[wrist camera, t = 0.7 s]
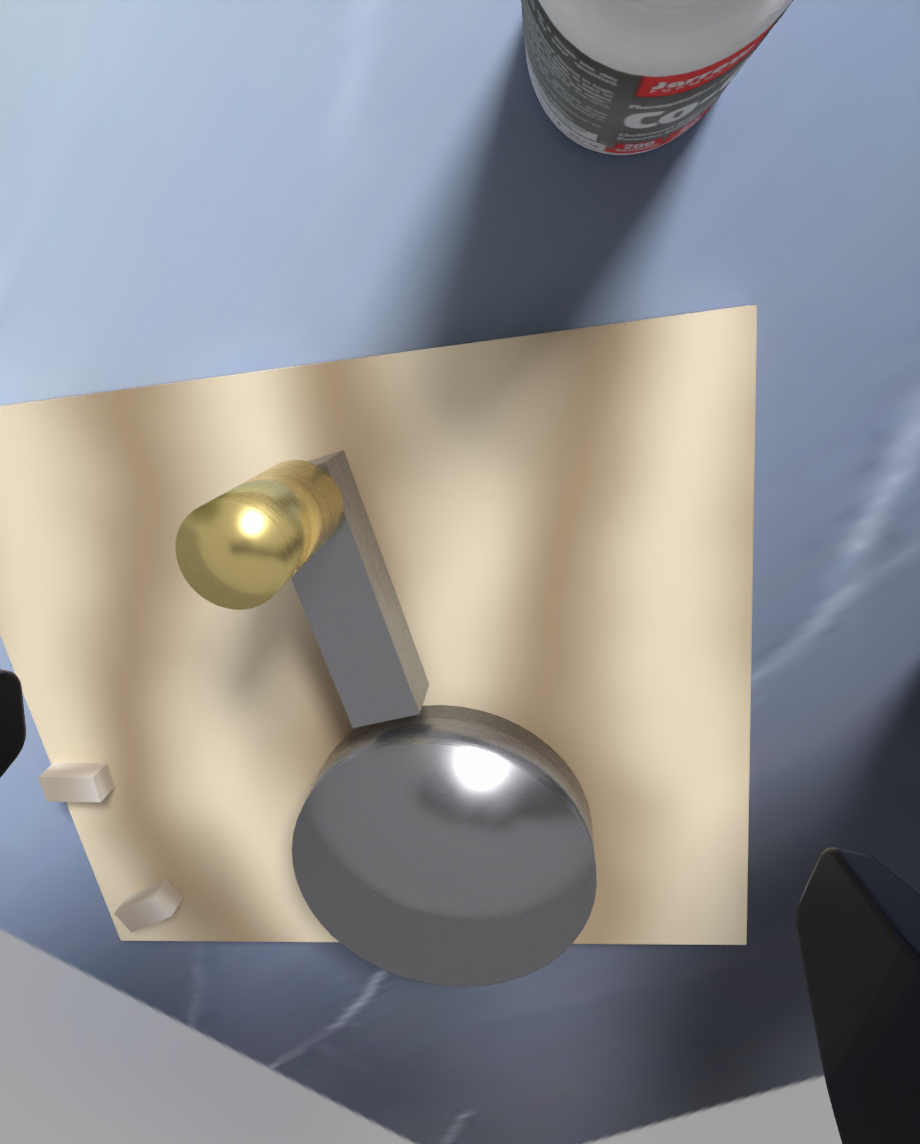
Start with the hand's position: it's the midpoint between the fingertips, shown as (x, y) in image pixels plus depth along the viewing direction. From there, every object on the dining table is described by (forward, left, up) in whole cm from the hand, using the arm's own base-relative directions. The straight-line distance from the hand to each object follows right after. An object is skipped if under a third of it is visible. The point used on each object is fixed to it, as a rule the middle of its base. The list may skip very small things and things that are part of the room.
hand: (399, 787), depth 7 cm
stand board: (+5, +6, -13) cm, 15 cm away
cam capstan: (+3, +6, -11) cm, 13 cm away
